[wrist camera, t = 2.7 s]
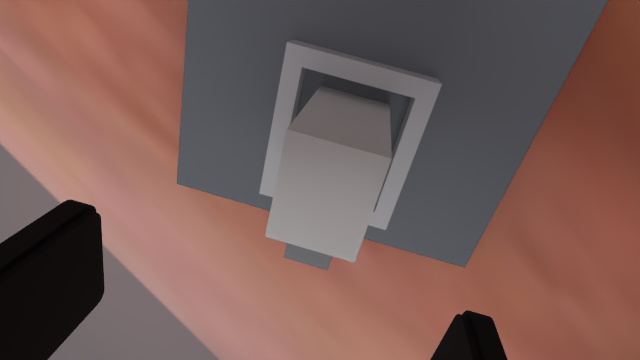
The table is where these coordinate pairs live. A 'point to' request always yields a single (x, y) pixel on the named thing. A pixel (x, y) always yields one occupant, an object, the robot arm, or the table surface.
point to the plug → (330, 177)
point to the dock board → (381, 99)
